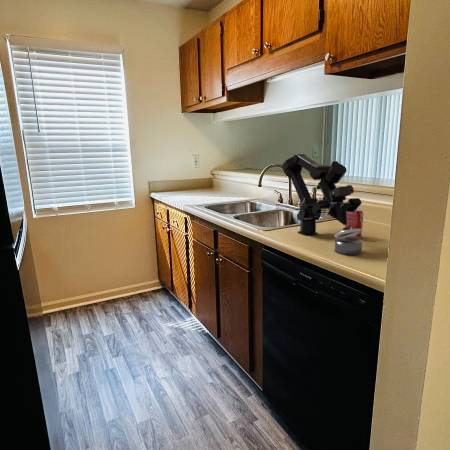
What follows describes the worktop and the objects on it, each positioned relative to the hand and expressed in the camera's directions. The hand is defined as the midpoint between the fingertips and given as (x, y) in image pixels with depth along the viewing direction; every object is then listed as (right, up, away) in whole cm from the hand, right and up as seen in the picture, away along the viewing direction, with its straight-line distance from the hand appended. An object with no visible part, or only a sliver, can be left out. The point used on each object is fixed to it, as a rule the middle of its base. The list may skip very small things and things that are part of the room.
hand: (345, 224), depth 124 cm
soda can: (+11, -5, +21) cm, 24 cm away
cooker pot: (+1, -10, 0) cm, 10 cm away
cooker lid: (+1, -4, -1) cm, 4 cm away
